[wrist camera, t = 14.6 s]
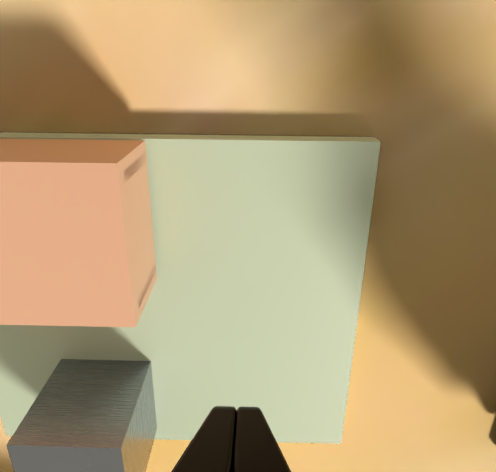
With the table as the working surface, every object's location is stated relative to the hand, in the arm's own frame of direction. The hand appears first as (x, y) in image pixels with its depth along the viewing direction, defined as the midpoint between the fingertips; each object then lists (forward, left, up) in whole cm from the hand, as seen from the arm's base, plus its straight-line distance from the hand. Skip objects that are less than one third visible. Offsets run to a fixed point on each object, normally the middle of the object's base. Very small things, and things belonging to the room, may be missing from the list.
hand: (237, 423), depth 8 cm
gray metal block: (+7, +10, -11) cm, 16 cm away
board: (+4, +5, -12) cm, 14 cm away
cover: (+8, 0, -11) cm, 13 cm away
